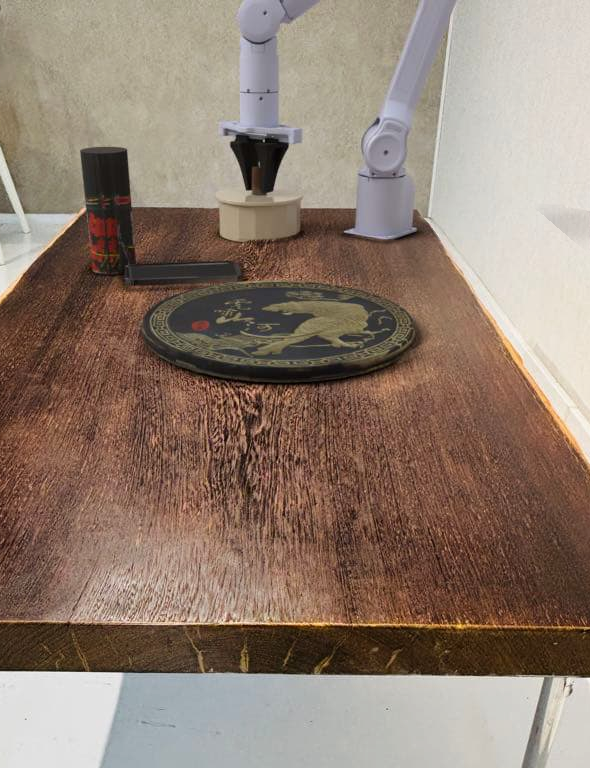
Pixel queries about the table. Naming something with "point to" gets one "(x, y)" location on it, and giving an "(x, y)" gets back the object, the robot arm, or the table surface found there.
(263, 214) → the container
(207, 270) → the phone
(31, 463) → the table surface
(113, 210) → the deodorant
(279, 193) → the cover
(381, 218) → the robot arm
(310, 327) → the decorative plate
